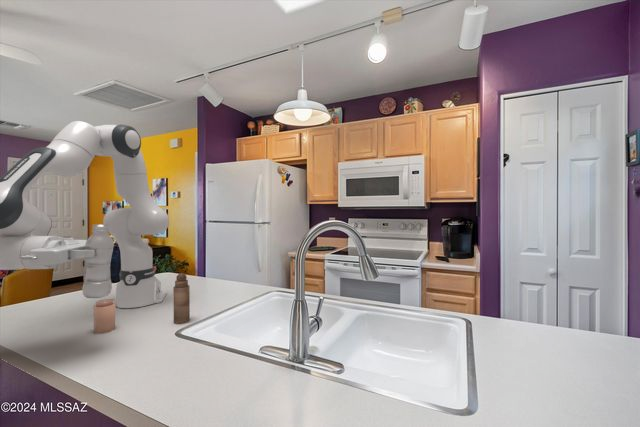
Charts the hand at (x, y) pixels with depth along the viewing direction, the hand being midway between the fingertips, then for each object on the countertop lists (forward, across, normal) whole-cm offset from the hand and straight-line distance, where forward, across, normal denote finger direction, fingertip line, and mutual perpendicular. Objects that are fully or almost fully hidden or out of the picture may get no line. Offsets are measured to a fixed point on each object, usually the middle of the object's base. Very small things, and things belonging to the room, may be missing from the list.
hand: (103, 251), depth 82 cm
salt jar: (-7, +14, +27) cm, 31 cm away
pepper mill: (+15, +18, +27) cm, 36 cm away
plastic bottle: (-2, 0, +13) cm, 13 cm away
